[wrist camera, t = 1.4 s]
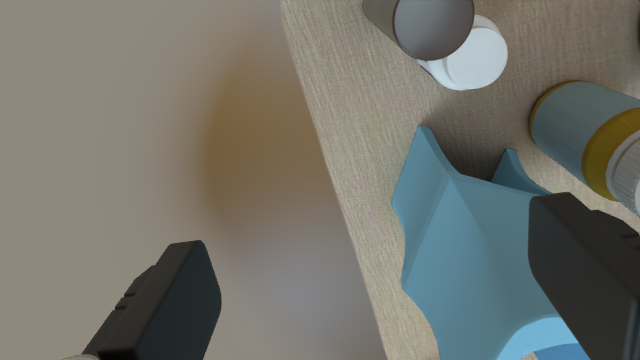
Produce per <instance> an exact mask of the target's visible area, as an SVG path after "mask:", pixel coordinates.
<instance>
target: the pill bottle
mask: <svg viewBox="0 0 640 360" xmlns="http://www.w3.org/2000/svg"><path fill="white" fill-rule="evenodd" d="M507 58H508V51H507V45H506V43H505V41H504V39H503V37H502V36H501V33H500V31H499V30H498V28H497V26H496V25H495V24H494V23H493V22H492V21H491V20H489V19H488V18H486V17H484V16H481V15H478V14H474V22H473V26H472V29H471V32H470V34H469V36H468V38H467V39H466V41H465V42H464V43H463V44H462V46H461V47H460V48H459V49H458V50H457V51H455V52H454V53H452V54H451V55H449V56H447V57H445V58H443V59H439V60H434V61H423V60H419V59H416V60H417V61H418V63H419V64H420V66H421V67H422V68H423V69H424V70H425V71H426V72H427V73H428V74H430V75H431V76H432V77H433V78H434V79H435V80H436V81H437V82H439V83H440V84H441V85H443V86H445V87H447V88H450V89H453V90H469V89H477V88H482V87H485V86H487V85H489V84H491V83H492V82H493V81H495V80H496V79H497V78H498V77H499V76H500V74H501V73H502V72H503V70H504V68H505V66H506V63H507Z"/></svg>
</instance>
